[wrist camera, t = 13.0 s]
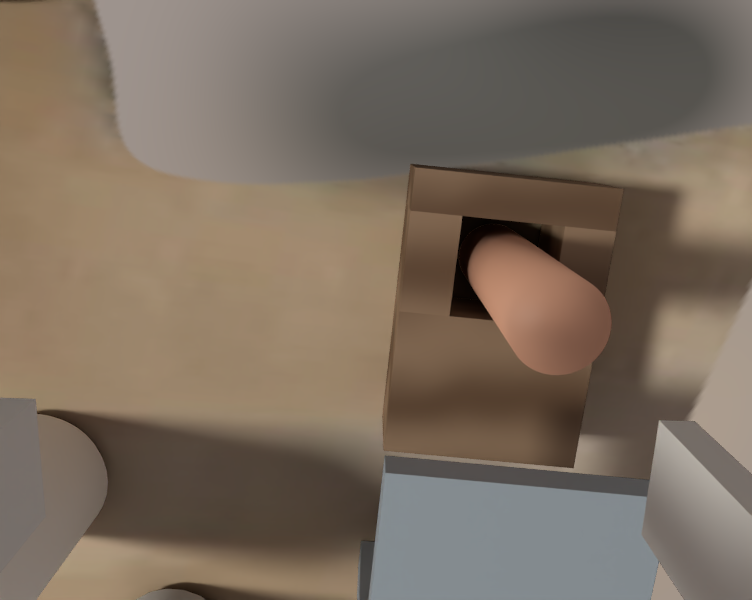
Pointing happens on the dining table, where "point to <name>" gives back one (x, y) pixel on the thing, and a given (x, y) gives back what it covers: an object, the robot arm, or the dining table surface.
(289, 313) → the dining table surface
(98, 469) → the alcohol
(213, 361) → the dining table surface
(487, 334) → the socket
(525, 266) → the peg
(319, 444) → the dining table surface
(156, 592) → the can
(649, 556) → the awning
